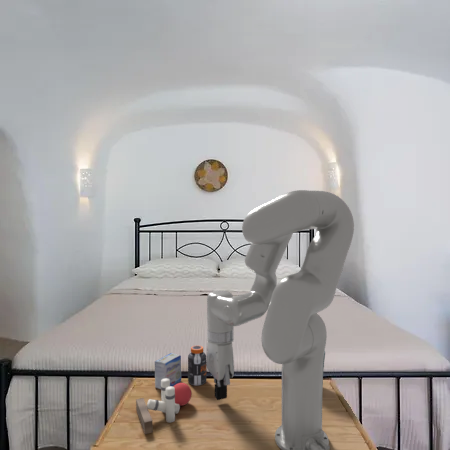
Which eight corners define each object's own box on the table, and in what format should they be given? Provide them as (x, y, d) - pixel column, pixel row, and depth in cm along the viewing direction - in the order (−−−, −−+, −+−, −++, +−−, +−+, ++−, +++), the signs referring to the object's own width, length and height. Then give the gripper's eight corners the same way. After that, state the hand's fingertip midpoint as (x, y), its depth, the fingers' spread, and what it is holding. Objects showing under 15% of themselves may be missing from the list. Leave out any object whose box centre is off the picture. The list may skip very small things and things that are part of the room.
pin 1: (171, 411, 103) (171, 381, 102) (162, 413, 102) (162, 383, 101) (169, 407, 105) (168, 377, 105) (160, 409, 104) (159, 379, 104)
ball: (166, 403, 103) (187, 406, 102) (171, 380, 106) (191, 383, 105) (170, 404, 108) (190, 408, 107) (174, 382, 111) (194, 385, 110)
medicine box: (165, 391, 114) (165, 363, 114) (154, 387, 116) (154, 360, 116) (181, 381, 121) (181, 354, 120) (171, 377, 123) (170, 352, 123)
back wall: (152, 432, 94) (152, 420, 93) (144, 434, 93) (144, 422, 93) (143, 408, 105) (143, 397, 104) (136, 409, 104) (136, 399, 104)
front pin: (180, 406, 101) (151, 401, 98) (177, 415, 101) (147, 411, 98) (178, 402, 103) (149, 397, 100) (174, 410, 103) (146, 406, 100)
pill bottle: (203, 386, 117) (203, 351, 116) (185, 385, 118) (185, 350, 117) (208, 378, 123) (208, 344, 122) (191, 376, 124) (190, 343, 123)
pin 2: (176, 421, 98) (176, 389, 98) (167, 423, 97) (166, 391, 97) (173, 416, 101) (173, 385, 100) (164, 418, 100) (164, 387, 99)
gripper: (199, 328, 112) (199, 388, 113) (218, 346, 98) (218, 414, 99) (222, 325, 115) (222, 383, 116) (243, 341, 101) (244, 407, 102)
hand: (220, 397), depth 107 cm, fingers closed
